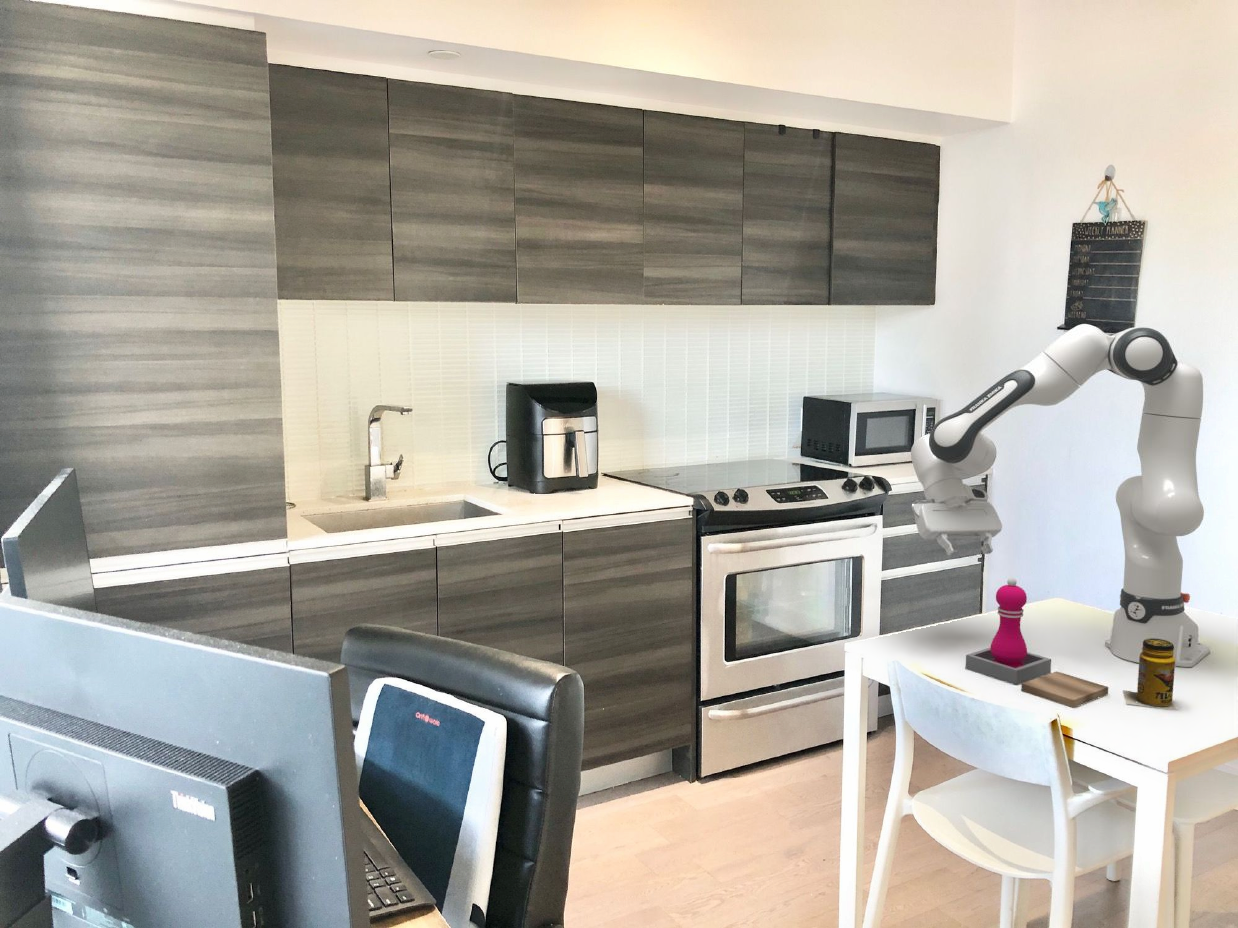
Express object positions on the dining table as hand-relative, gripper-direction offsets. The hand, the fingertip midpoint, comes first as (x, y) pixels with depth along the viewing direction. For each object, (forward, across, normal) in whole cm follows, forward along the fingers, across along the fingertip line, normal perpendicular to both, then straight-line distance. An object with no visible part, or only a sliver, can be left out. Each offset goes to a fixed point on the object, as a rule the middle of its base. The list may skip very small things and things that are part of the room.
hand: (970, 553), depth 218 cm
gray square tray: (+25, +2, +5) cm, 26 cm away
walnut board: (+34, +3, -5) cm, 35 cm away
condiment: (+40, +15, -12) cm, 45 cm away
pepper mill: (+25, +2, +5) cm, 26 cm away
